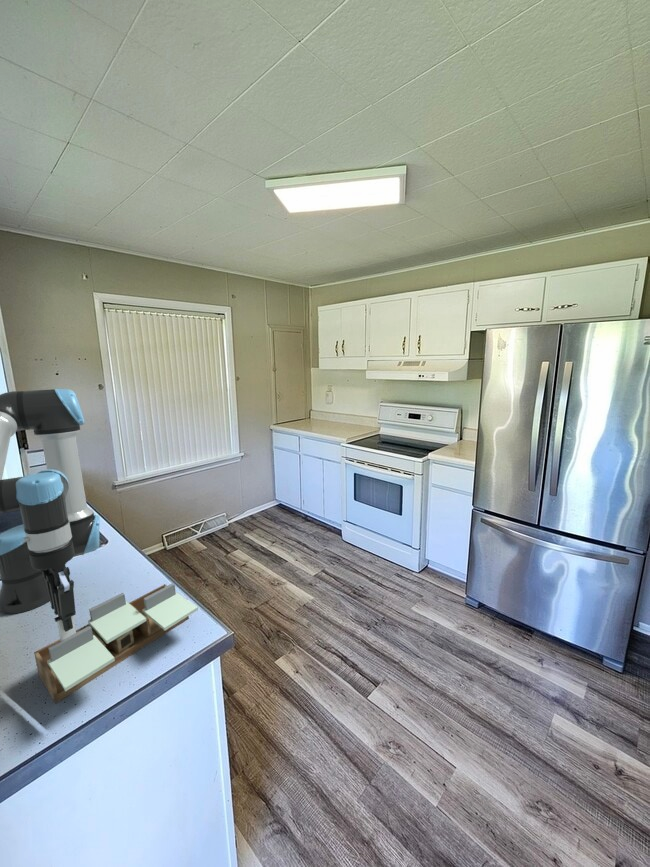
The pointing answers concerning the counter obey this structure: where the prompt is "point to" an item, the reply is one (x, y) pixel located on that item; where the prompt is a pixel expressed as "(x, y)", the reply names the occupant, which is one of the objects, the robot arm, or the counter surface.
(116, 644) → the letter cube
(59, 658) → the lid
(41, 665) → the box
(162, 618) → the lid
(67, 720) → the counter surface
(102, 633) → the lid
